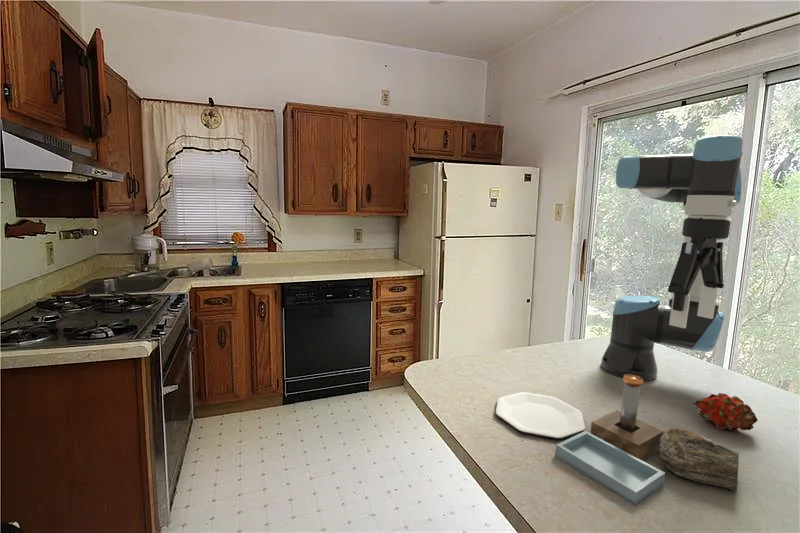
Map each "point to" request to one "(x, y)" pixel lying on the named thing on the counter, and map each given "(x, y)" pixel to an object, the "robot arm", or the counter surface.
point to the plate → (540, 415)
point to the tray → (610, 466)
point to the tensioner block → (628, 435)
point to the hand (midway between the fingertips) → (691, 321)
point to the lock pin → (630, 402)
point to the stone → (699, 458)
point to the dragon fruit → (726, 412)
